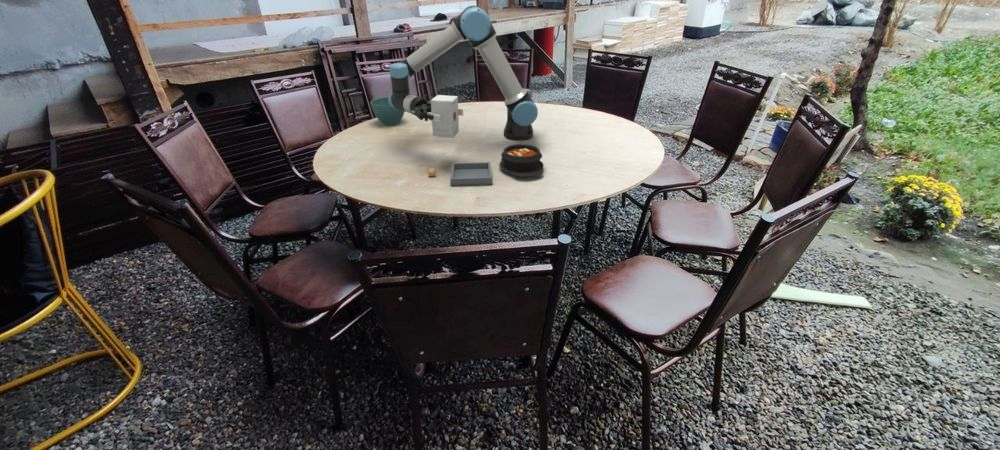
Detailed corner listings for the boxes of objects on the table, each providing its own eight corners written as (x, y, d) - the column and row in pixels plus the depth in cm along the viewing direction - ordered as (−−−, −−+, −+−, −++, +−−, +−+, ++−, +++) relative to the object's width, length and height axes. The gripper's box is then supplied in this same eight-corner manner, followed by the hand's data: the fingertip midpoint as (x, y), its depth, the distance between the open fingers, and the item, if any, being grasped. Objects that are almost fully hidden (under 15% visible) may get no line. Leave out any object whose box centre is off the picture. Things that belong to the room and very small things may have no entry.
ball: (436, 174, 172) (435, 167, 171) (435, 177, 170) (435, 170, 168) (428, 174, 172) (427, 167, 170) (427, 177, 169) (427, 170, 168)
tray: (490, 168, 177) (490, 162, 176) (492, 185, 164) (492, 177, 162) (452, 169, 176) (452, 163, 175) (450, 186, 163) (450, 179, 161)
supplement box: (453, 138, 170) (452, 101, 162) (432, 137, 171) (429, 99, 164) (459, 131, 178) (458, 95, 170) (439, 130, 179) (437, 94, 171)
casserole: (553, 178, 169) (554, 158, 165) (509, 183, 165) (509, 164, 160) (531, 156, 190) (532, 138, 185) (492, 160, 185) (491, 142, 181)
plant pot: (367, 126, 226) (363, 103, 220) (386, 117, 241) (383, 95, 235) (396, 130, 221) (393, 106, 215) (413, 120, 236) (411, 98, 229)
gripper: (437, 108, 190) (472, 118, 178) (394, 120, 174) (429, 131, 162) (436, 91, 186) (472, 100, 174) (392, 102, 170) (428, 112, 158)
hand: (451, 115), depth 168 cm, fingers closed on supplement box, 12 cm apart
